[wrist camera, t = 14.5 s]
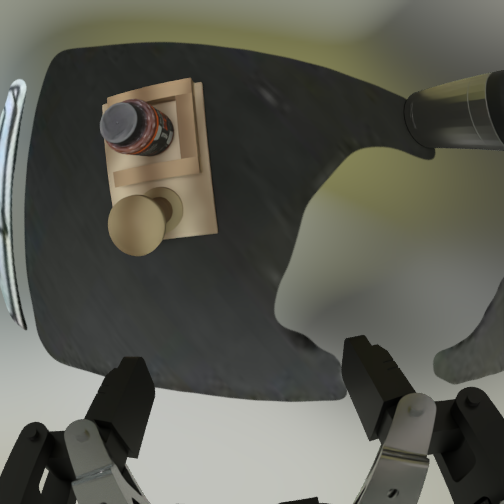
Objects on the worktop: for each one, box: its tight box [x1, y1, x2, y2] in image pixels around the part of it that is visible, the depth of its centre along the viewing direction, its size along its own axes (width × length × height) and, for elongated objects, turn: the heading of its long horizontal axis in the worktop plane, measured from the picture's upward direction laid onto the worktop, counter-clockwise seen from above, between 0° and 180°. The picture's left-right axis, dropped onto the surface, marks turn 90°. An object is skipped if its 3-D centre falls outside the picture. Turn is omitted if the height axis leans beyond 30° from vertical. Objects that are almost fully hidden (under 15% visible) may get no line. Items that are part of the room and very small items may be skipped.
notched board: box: [102, 78, 218, 239], centre depth 32 cm, size 14×20×4 cm
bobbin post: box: [108, 187, 183, 256], centre depth 30 cm, size 6×6×10 cm
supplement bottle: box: [100, 99, 174, 156], centre depth 26 cm, size 6×6×11 cm
